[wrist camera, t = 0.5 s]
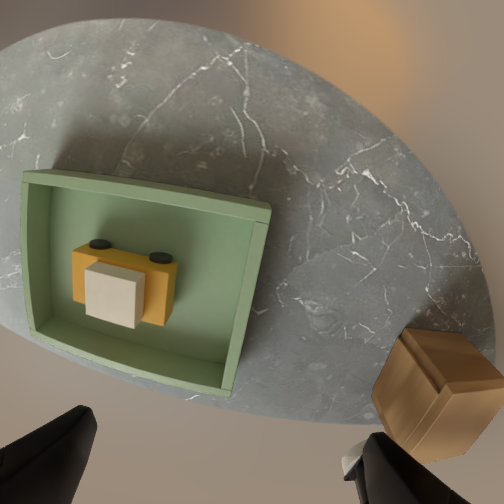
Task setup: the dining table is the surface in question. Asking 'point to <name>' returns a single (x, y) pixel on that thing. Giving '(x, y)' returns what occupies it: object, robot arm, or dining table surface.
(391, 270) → the dining table surface
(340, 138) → the dining table surface
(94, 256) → the small car
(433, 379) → the oak stand
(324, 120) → the dining table surface
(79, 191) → the green box
